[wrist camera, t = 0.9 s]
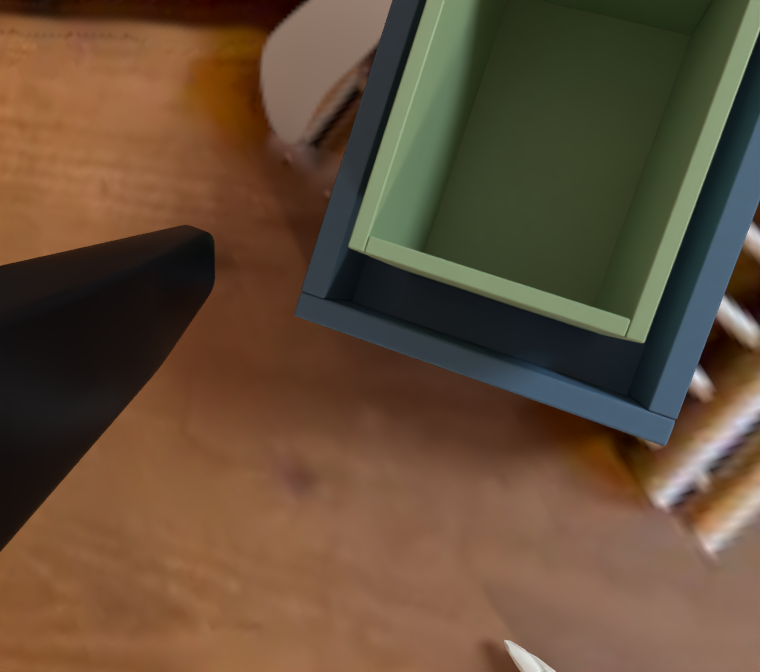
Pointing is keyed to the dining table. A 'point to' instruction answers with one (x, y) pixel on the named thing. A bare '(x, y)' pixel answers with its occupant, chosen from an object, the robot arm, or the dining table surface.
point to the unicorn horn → (526, 659)
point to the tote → (522, 328)
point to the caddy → (555, 150)
